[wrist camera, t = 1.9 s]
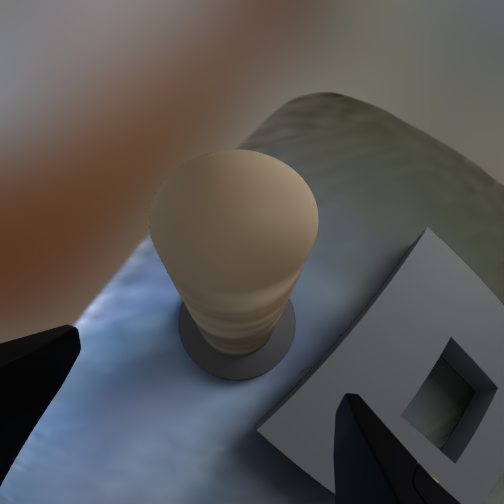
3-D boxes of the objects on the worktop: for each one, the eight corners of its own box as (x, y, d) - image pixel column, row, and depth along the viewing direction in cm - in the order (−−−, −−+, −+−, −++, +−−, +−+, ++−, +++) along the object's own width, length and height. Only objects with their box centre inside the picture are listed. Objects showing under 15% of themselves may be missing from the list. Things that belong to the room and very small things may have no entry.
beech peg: (235, 372, 19) (228, 331, 7) (185, 319, 20) (119, 209, 9) (288, 321, 21) (350, 214, 9) (238, 273, 22) (237, 130, 10)
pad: (235, 403, 19) (235, 403, 18) (159, 320, 21) (155, 317, 20) (315, 324, 21) (318, 321, 21) (238, 253, 24) (238, 246, 23)
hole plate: (422, 546, 12) (441, 557, 9) (254, 425, 18) (256, 430, 15) (529, 371, 19) (550, 364, 16) (411, 244, 25) (428, 225, 22)
